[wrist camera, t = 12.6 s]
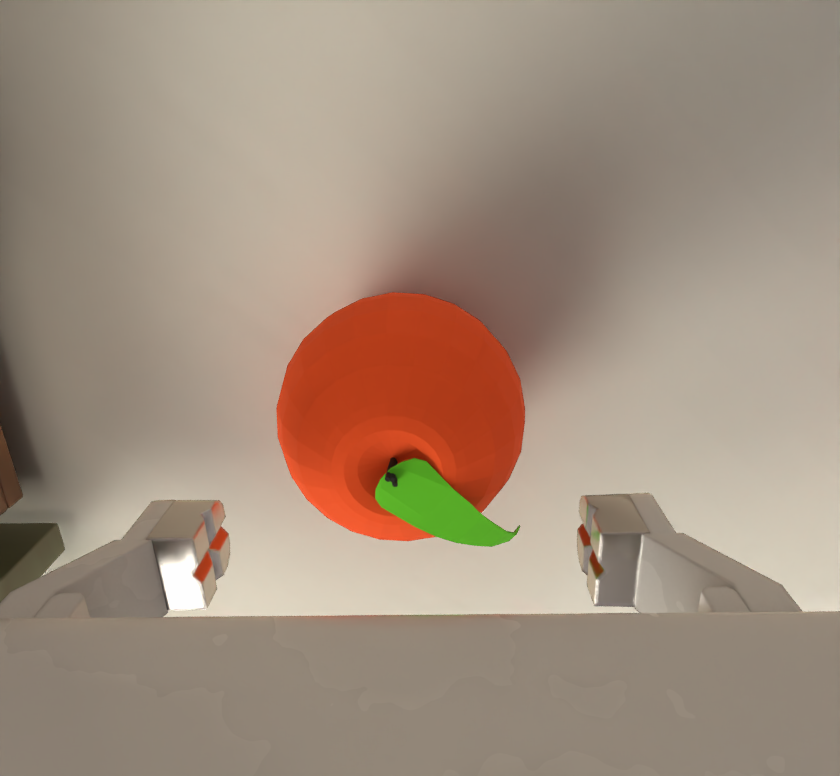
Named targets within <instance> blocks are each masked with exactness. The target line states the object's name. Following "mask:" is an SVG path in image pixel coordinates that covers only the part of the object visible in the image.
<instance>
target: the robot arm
mask: <svg viewBox="0 0 840 776" xmlns="http://www.w3.org/2000/svg"><path fill="white" fill-rule="evenodd" d="M579 514H580V516H581V519H582V522H583V524H582V525H581V526H580V527H579V528H578V531H577V551H578V558H579V563H580V566H581V569H582V571H583V572H584V573H585V574H587V587H588V590H589V593H590V595H591V598H592V601H593V604H594V606H620V607H635V609H636V610H637V611H638V612H639V613H581V614H467V615H350V616H232V617H163V616H164V615H166V614H167V613H168V611H177V610H205V609H207V608H208V606H209V604H210V602H211V600H212V598H213V596H214V594H215V592H216V590H217V585H216V580H217V579H218V578H220V577H221V576H223V575H224V573H225V571H226V569H227V567H228V562H229V557H230V540H229V534H228V533H227V532H226V531H225V530H224V529H223V528H222V527H221V525H222V523H223V521H224V519H225V517H226V516H225V511H224V507H223V504H222V503H221V502H220V500H156V501H152V502H151V503H150V504H149V506H148V507H147V508H146V509H145V511H144V512H143V513H142V514H141V516H140V517H139V518H138V519H137V521H136V522H135V523H134V524H133V526H132V527H131V528H130V529H129V531H128V532H127V533H126V534H125V536H124V537H123V538H122V539H121V540H114V541H112V542H110V543H108V544H106V545H104V546H102V547H100V548H98V549H96V550H94V551H92V552H90V553H88V554H86V555H84V556H82V557H80V558H78V559H76V560H74V561H72V562H70V563H68V564H66V565H64V566H62V567H60V568H58V569H56V570H54V571H52V572H50V573H48V574H46V575H44V576H42V577H40V578H38V579H36V580H34V581H32V582H30V583H27V584H25V585H23V586H21V587H19V588H17V589H15V590H13V591H11V592H10V593H9V594H8V595H7V596H6V597H5V598H4V599H3V600H2V602H1V603H0V776H840V611H819V612H803V611H802V610H801V609H800V608H799V606H798V605H797V604H796V602H795V601H794V600H793V599H792V597H791V596H790V595H789V594H788V592H787V591H786V590H785V588H784V587H783V586H782V585H781V584H779V583H777V582H775V581H773V580H771V579H770V578H768V577H766V576H764V575H762V574H760V573H758V572H756V571H754V570H752V569H750V568H749V567H747V566H745V565H743V564H741V563H739V562H737V561H735V560H733V559H731V558H729V557H728V556H726V555H724V554H722V553H720V552H718V551H716V550H714V549H712V548H710V547H708V546H707V545H705V544H703V543H701V542H699V541H697V540H695V539H693V538H691V537H689V536H687V535H686V534H684V533H676V532H675V530H674V529H673V527H672V525H671V524H670V522H669V521H668V519H667V518H666V516H665V514H664V513H663V511H662V510H661V508H660V507H659V505H658V503H657V502H656V500H655V499H654V497H653V496H652V494H650V493H634V494H611V495H586V496H581V499H580V505H579Z"/></svg>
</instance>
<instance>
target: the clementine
mask: <svg viewBox="0 0 840 776" xmlns="http://www.w3.org/2000/svg"><path fill="white" fill-rule="evenodd" d="M524 424H525V406H524V400H523V394H522V387H521V381H520V378H519V376H518V374H517V372H516V370H515V368H514V365H513V363H512V361H511V359H510V357H509V355H508V353H507V351H506V350H505V349H504V347H503V346H502V345H501V344H500V342H499V341H498V340H497V339H496V338H495V337H494V336H493V335H492V334H491V332H490V331H489V330H488V329H487V328H486V327H485V326H484V325H483V323H482V322H481V321H480V320H478V319H477V318H475V317H474V316H472V315H470V314H469V313H467V312H466V311H464V310H463V309H461V308H460V307H458V306H457V305H455V304H453V303H450V302H447V301H444V300H441V299H437V298H434V297H431V296H428V295H425V294H412V293H395V292H392V293H387V294H382V295H377V296H372V297H367V298H363V299H360V300H358V301H356V302H354V303H352V304H350V305H348V306H346V307H344V308H342V309H340V310H338V311H336V312H335V313H333V314H332V315H330V316H329V317H327V318H326V319H325V320H324V321H323V322H322V323H321V324H319V325H318V326H317V327H316V328H315V329H314V330H313V331H312V332H311V333H310V334H309V335H307V336H306V337H305V338H304V339H303V341H302V342H301V344H300V346H299V347H298V349H297V351H296V352H295V354H294V356H293V357H292V359H291V361H290V362H289V364H288V366H287V370H286V373H285V377H284V381H283V385H282V389H281V393H280V396H279V400H278V404H277V429H278V439H279V442H280V445H281V448H282V451H283V454H284V457H285V460H286V463H287V466H288V468H289V471H290V474H291V476H292V478H293V479H294V481H295V482H296V484H297V485H298V487H299V488H300V490H301V491H302V493H303V494H304V496H305V497H306V499H307V500H308V501H309V502H310V503H311V504H313V505H314V506H315V507H316V508H317V509H318V510H319V511H320V512H321V513H323V514H324V515H325V516H326V517H327V518H328V519H330V520H332V521H334V522H336V523H338V524H339V525H341V526H343V527H345V528H347V529H349V530H350V531H352V532H356V533H359V534H363V535H366V536H370V537H373V538H377V539H382V540H398V541H412V540H418V539H424V538H431V537H439V538H442V539H446V540H449V541H452V542H456V543H461V544H468V545H474V546H489V547H492V546H495V545H498V544H501V543H504V542H508V541H510V540H511V539H512V538H513V537H514V536H515V535H516V534H517V532H518V530H519V528H520V525H519V526H518V527H517V529H516V530H515V531H514V532H508V531H506V530H504V529H502V528H501V527H499V526H498V525H496V524H495V523H493V522H492V521H490V520H489V519H487V518H486V517H484V516H483V515H482V514H481V512H482V511H484V509H485V508H486V507H487V506H488V505H489V503H490V502H491V501H492V500H493V499H494V497H495V496H496V495H497V494H498V492H499V491H500V490H501V489H502V487H503V486H504V485H505V483H506V482H507V481H508V479H509V478H510V476H511V473H512V471H513V469H514V466H515V464H516V462H517V460H518V457H519V455H520V453H521V448H522V440H523V432H524Z"/></svg>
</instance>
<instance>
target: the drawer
mask: <svg viewBox="0 0 840 776" xmlns="http://www.w3.org/2000/svg"><path fill="white" fill-rule="evenodd" d="M22 497H23V493H22V490H21V487H20V484H19V481H18V478H17V475H16V472H15V469H14V465H13V462H12V459H11V456H10V453H9V450H8V447H7V444H6V440H5V437H4V434H3V431H2V428H1V425H0V515H2V514H3V513H4V512H5V511H6V510H7V508H10V507H11V506H13V505H14V504H15V503H16V502H17V501H18V500H20V499H21V498H22ZM64 550H65V547H64V544H63V540H62V537H61V534H60V530H59V527H58V524H57V523H0V603H1V602H2V600H3V599H4V598H5V597H6V596H7V595H8V594H9V593H10V592H11V591H13V590H15V589H17V588H19V587H21V586H23V585H25V584H27V583H30V582H32V581H34V580H36V579H38V578H40V577H41V576H42V574H43V573H44V572H45V571H46V570H47V569H48V568H49V567H50V566H51V565H52V563H53V562H54V561H55V560H56V559H57V558H58V557H59V556H60V555H61V554H62V552H63V551H64Z"/></svg>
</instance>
